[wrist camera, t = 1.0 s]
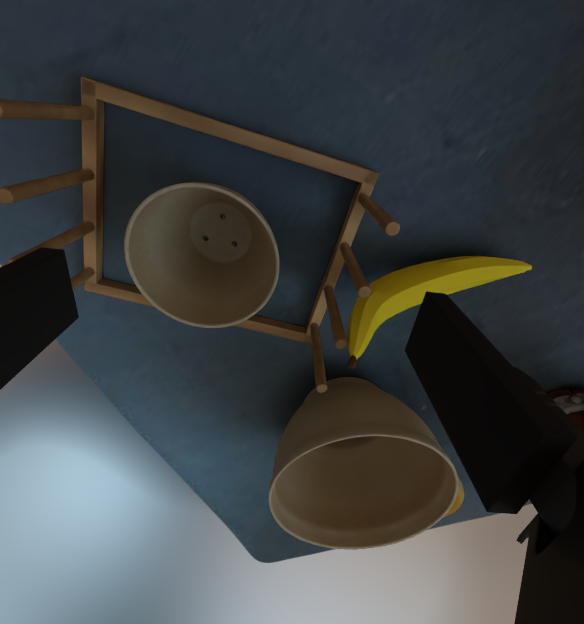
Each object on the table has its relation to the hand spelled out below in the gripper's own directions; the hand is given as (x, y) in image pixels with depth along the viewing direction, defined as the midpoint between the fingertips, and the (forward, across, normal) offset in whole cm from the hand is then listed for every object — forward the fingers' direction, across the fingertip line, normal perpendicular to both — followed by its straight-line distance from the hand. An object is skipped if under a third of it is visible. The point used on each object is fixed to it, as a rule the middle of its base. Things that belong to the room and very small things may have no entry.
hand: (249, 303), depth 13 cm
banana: (+15, +11, -4) cm, 19 cm away
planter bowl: (+17, +10, -21) cm, 29 cm away
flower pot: (+17, -4, -2) cm, 17 cm away
